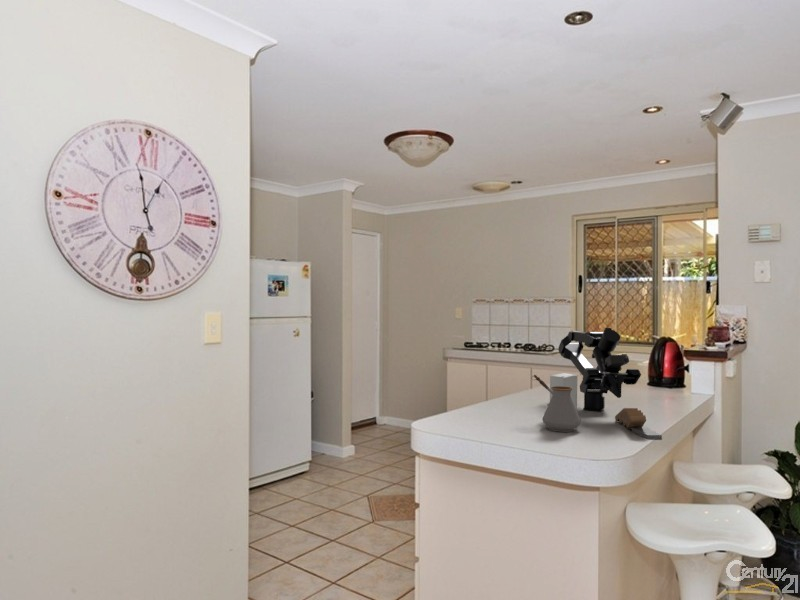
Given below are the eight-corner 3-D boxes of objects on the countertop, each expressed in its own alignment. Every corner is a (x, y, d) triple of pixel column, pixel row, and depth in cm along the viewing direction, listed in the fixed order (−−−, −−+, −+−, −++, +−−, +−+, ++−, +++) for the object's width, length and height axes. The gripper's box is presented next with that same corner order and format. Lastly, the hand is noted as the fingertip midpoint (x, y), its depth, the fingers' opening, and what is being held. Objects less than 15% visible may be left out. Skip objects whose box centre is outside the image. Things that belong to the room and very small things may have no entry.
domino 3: (622, 421, 173) (628, 412, 164) (636, 420, 172) (642, 412, 164) (623, 426, 172) (629, 418, 164) (637, 425, 172) (643, 417, 163)
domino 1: (614, 416, 180) (623, 408, 172) (627, 416, 180) (637, 408, 171) (615, 421, 180) (624, 413, 171) (628, 421, 179) (638, 413, 171)
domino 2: (619, 418, 177) (626, 410, 168) (632, 418, 176) (640, 410, 167) (620, 423, 176) (627, 415, 167) (633, 423, 176) (641, 415, 167)
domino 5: (631, 427, 167) (647, 435, 157) (645, 427, 167) (661, 435, 157) (631, 432, 167) (647, 440, 157) (645, 432, 167) (661, 440, 157)
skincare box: (562, 414, 189) (563, 372, 189) (578, 417, 185) (578, 374, 185) (548, 417, 184) (548, 374, 184) (563, 421, 179) (564, 376, 179)
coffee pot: (588, 432, 164) (589, 382, 164) (556, 434, 160) (557, 384, 160) (547, 417, 184) (548, 373, 184) (518, 419, 181) (518, 375, 181)
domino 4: (626, 423, 169) (630, 416, 160) (640, 422, 168) (645, 415, 160) (627, 428, 169) (631, 421, 160) (641, 427, 168) (646, 420, 159)
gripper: (586, 345, 185) (600, 382, 174) (638, 345, 186) (656, 382, 175) (576, 365, 193) (589, 402, 182) (627, 365, 194) (642, 402, 183)
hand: (619, 397), depth 180 cm, fingers closed
